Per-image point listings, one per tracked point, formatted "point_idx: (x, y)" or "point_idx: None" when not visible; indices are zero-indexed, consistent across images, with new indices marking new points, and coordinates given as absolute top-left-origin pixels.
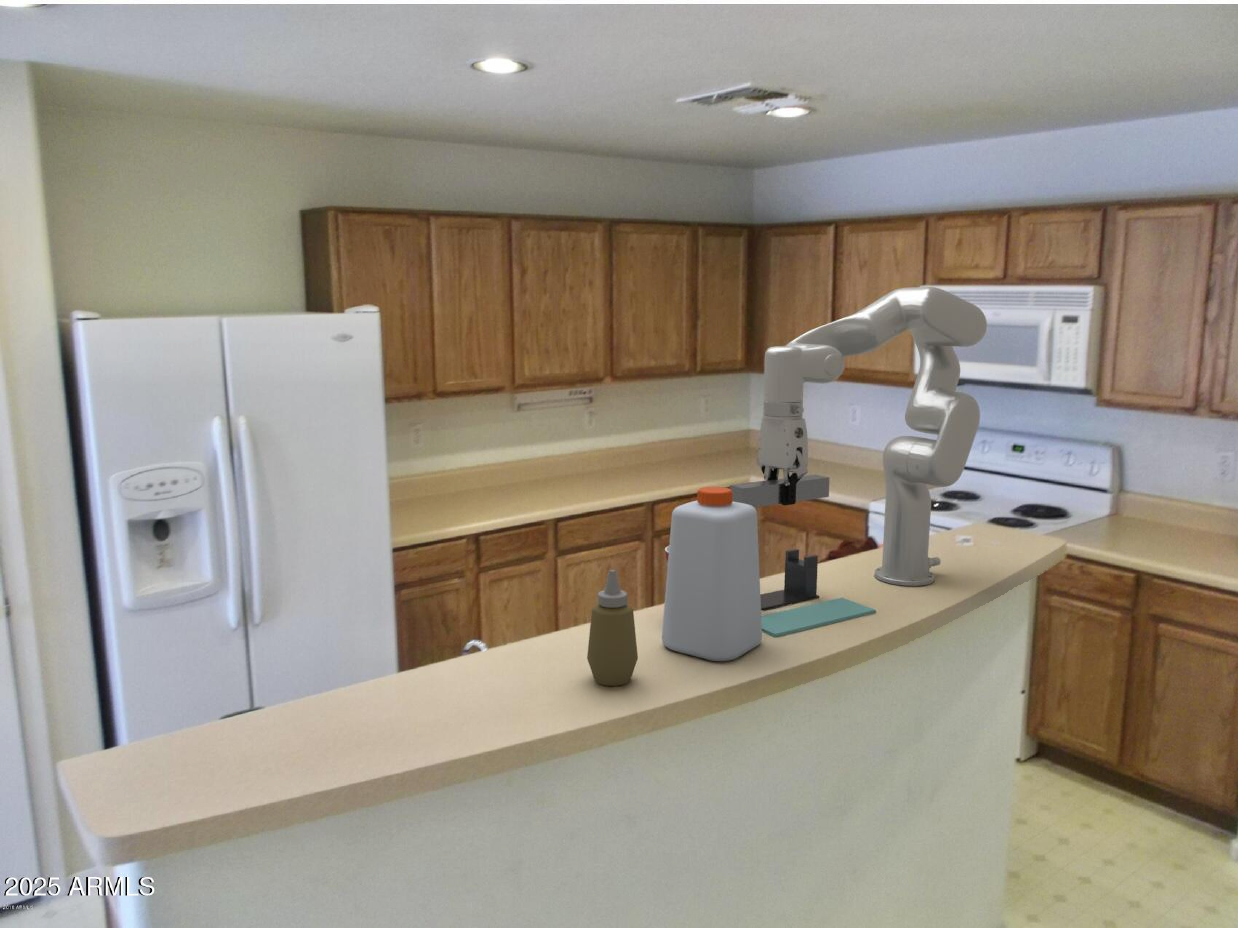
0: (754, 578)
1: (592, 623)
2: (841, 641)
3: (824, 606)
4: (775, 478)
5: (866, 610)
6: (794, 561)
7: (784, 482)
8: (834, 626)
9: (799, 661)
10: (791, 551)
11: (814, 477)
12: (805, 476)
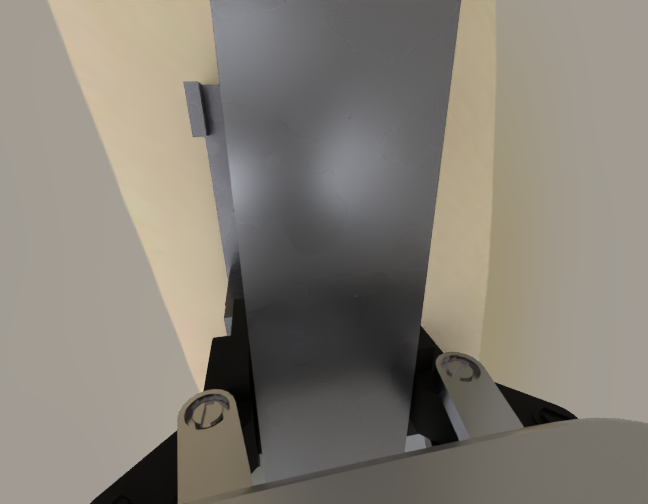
0: None
1: None
2: (471, 223)
3: None
4: (253, 427)
5: None
6: (222, 119)
7: (429, 444)
8: None
9: (478, 316)
10: (204, 121)
11: (370, 39)
12: (264, 93)
